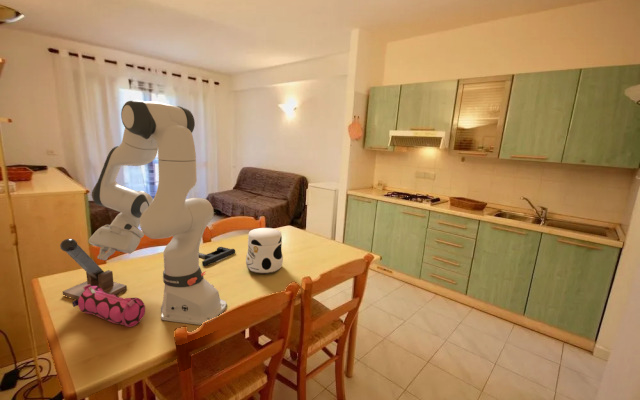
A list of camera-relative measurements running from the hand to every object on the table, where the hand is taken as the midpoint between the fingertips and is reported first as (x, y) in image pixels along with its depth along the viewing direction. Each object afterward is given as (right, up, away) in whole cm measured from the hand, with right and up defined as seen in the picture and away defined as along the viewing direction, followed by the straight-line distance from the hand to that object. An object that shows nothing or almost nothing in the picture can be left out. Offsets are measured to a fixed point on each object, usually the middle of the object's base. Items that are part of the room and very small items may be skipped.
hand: (101, 259), depth 109 cm
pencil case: (+14, -17, -14) cm, 26 cm away
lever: (-1, -8, +1) cm, 8 cm away
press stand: (-2, -13, 0) cm, 13 cm away
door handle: (+28, -7, +38) cm, 48 cm away
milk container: (+56, -11, +29) cm, 64 cm away
